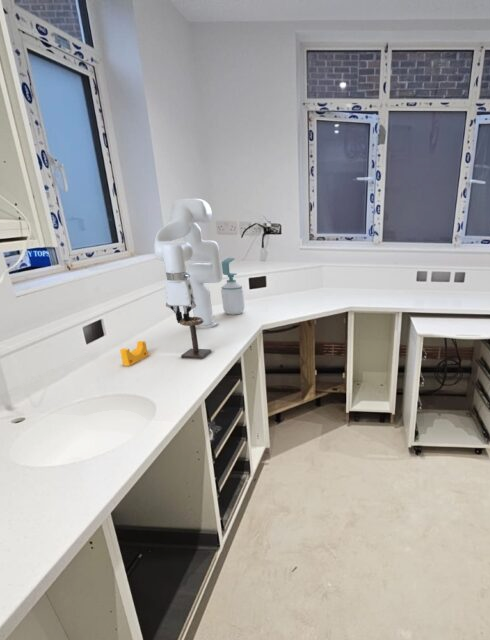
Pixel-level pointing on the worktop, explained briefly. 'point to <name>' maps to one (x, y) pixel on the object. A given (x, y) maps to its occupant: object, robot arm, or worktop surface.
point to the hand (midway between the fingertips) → (183, 322)
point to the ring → (191, 321)
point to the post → (195, 347)
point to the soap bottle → (231, 292)
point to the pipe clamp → (134, 354)
